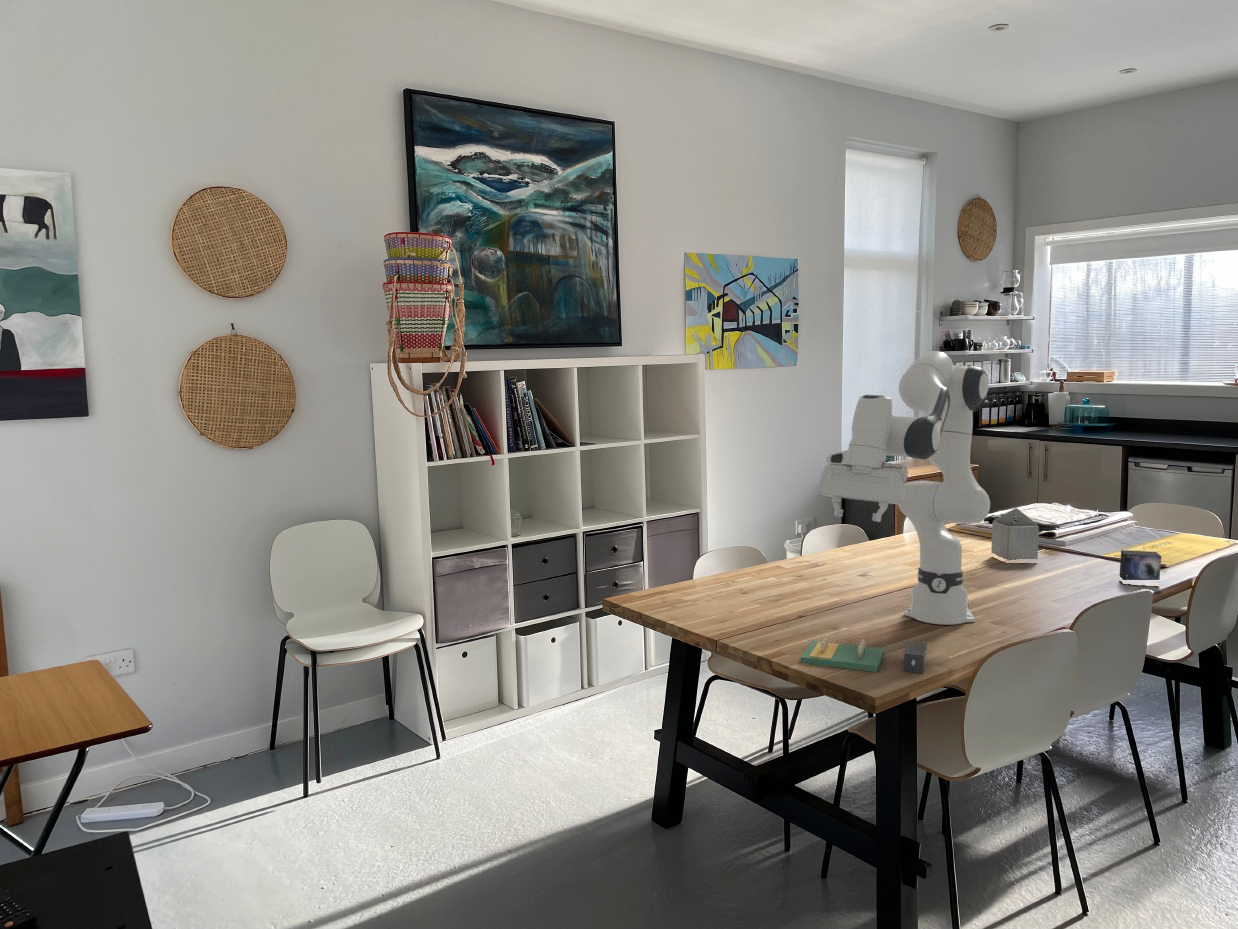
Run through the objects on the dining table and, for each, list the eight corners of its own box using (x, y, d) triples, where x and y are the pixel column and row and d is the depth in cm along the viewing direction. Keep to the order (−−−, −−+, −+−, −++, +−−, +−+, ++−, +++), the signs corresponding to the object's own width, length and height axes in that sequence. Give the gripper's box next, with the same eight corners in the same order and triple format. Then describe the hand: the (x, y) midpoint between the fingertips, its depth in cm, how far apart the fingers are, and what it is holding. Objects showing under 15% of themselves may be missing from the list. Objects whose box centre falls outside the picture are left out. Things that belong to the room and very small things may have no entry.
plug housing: (907, 658, 222) (908, 641, 221) (926, 660, 220) (926, 643, 219) (902, 674, 210) (903, 657, 209) (922, 677, 208) (922, 659, 208)
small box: (1123, 585, 290) (1124, 553, 289) (1118, 580, 296) (1120, 549, 295) (1160, 587, 287) (1162, 555, 286) (1154, 582, 293) (1156, 551, 292)
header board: (811, 646, 232) (811, 629, 231) (883, 654, 225) (884, 636, 224) (800, 663, 219) (800, 645, 218) (876, 672, 212) (877, 653, 211)
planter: (983, 560, 328) (985, 508, 326) (991, 557, 334) (993, 505, 332) (1030, 567, 317) (1032, 513, 315) (1037, 563, 323) (1040, 510, 321)
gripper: (913, 467, 208) (904, 526, 206) (831, 460, 220) (822, 515, 219) (904, 462, 203) (895, 522, 201) (820, 455, 215) (811, 511, 214)
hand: (856, 518), depth 210 cm, fingers open, 8 cm apart
